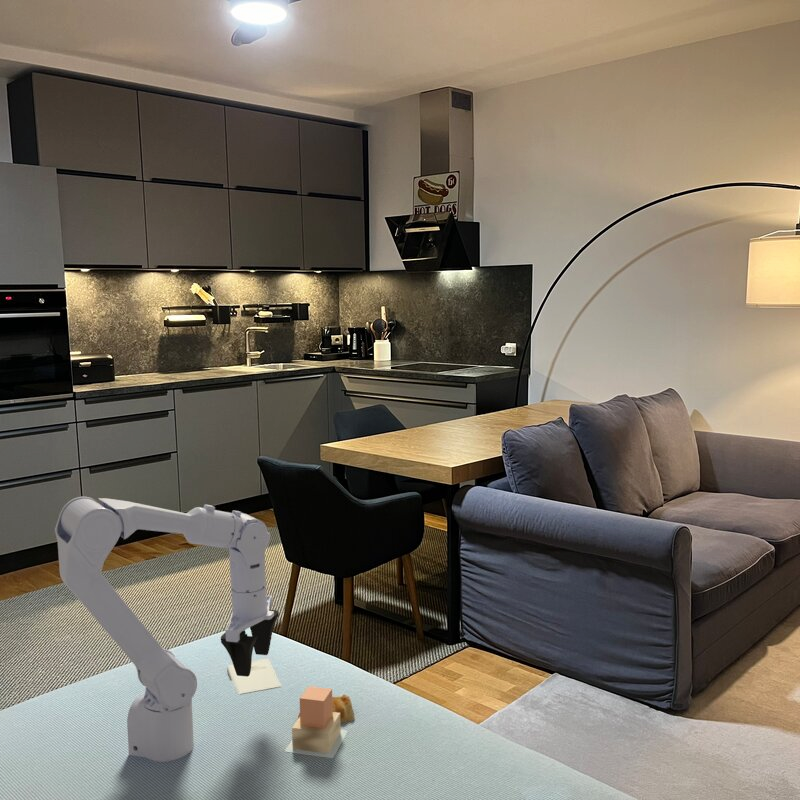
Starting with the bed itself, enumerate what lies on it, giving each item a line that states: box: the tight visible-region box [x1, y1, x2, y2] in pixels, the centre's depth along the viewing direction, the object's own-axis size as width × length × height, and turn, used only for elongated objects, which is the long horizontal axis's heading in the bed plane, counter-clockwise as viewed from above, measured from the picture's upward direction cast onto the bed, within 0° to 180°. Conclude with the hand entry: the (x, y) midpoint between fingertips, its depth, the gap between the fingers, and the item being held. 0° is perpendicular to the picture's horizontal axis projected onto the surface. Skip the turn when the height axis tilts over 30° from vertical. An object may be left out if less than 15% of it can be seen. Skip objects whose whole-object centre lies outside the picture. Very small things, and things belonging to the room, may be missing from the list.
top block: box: [299, 685, 333, 728], centre depth 125 cm, size 4×4×4 cm
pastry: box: [297, 694, 355, 724], centre depth 134 cm, size 9×7×4 cm
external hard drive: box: [226, 658, 283, 695], centre depth 149 cm, size 2×8×12 cm
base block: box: [291, 712, 342, 753], centre depth 126 cm, size 6×6×4 cm
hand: (252, 664), depth 132 cm, fingers open, 7 cm apart
